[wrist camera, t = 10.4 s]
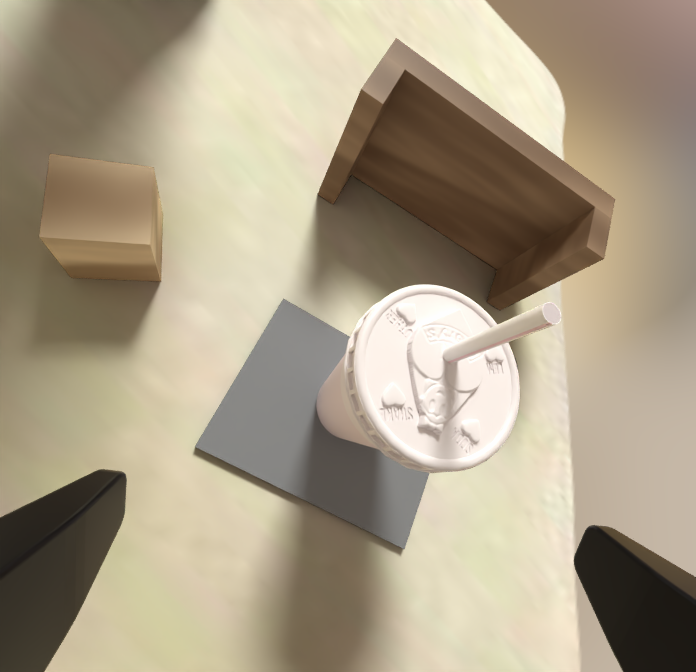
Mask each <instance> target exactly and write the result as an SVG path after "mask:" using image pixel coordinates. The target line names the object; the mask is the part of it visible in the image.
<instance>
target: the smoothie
mask: <svg viewBox="0 0 696 672" xmlns="http://www.w3.org/2000/svg"><path fill="white" fill-rule="evenodd" d="M560 320H561V313H560V310H559V308H558V307H557V306H556V305H555V304H553V303H551V302H547V303H544V304H542V305H540V306H538V307H536V308H533V309H531V310H529V311H527V312H524V313H522V314H520V315H518V316H516V317H513V318H511V319H509V320H507V321H504V322H502V323H500V324H498V325H497V323H496V322H495V321H494V320H493V318H492V317H491V316H490V315H489V314H488V313H487V312H486V311H485V310H484V309H483V308H482V307H481V306H480V305H478V304H477V303H476V302H474V301H473V300H471V299H470V298H469V297H467V296H465V295H463V294H461V293H459V292H457V291H455V290H452V289H449V288H446V287H442V286H438V285H428V284H422V285H413V286H408V287H405V288H401V289H399V290H397V291H394V292H393V293H391V294H389V295H388V296H386V297H385V298H384V299H382V300H381V301H380V302H378V303H376V304H374V305H373V306H372V307H371V308H370V309H369V310H368V311H367V312H366V313H365V314H364V315H363V316H362V317H361V318H360V319H359V320H358V322H357V324H356V326H355V328H354V330H353V332H352V334H351V336H350V338H349V340H348V344H347V349H346V353H345V355H344V356H343V358H342V359H341V360H340V362H339V363H338V364H337V366H336V367H335V369H334V370H333V371H332V373H331V374H330V376H329V377H328V378H327V380H326V381H325V382H324V384H323V385H322V387H321V388H320V390H319V393H318V396H317V402H316V408H317V414H318V417H319V419H320V421H321V423H322V425H323V426H324V428H325V429H326V430H327V431H328V432H329V433H331V434H332V435H334V436H336V437H338V438H341V439H345V440H348V441H352V442H355V443H358V444H362V445H365V446H369V447H372V448H376V449H379V450H380V451H381V452H382V453H383V454H384V455H385V456H387V457H388V458H390V459H392V460H394V461H396V462H397V463H399V464H401V465H403V466H405V467H406V468H409V469H414V470H418V471H423V472H427V473H439V472H452V471H461V470H466V469H470V468H473V467H475V466H477V465H480V464H481V463H483V462H485V461H487V460H488V459H489V458H491V457H492V456H493V455H494V454H495V453H496V452H497V451H498V450H499V449H500V448H501V447H502V446H503V444H504V443H505V441H506V440H507V438H508V437H509V435H510V433H511V431H512V429H513V426H514V424H515V421H516V417H517V414H518V408H519V400H520V383H519V375H518V369H517V365H516V361H515V358H514V355H513V352H512V350H511V347H510V345H509V343H508V342H511V341H513V340H516V339H519V338H521V337H524V336H527V335H529V334H532V333H535V332H537V331H540V330H543V329H545V328H548V327H551V326H553V325H556V324H558V323H559V322H560Z"/></svg>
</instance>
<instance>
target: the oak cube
mask: <svg viewBox="0 0 696 672" xmlns="http://www.w3.org/2000/svg"><path fill="white" fill-rule="evenodd" d="M162 231H163V212H162V207H161V202H160V197H159V192H158V187H157V182H156V177H155V172H154V167H148V166H140V165H132V164H125V163H117V162H109V161H102V160H94V159H86V158H79V157H71V156H63V155H56V154H50V155H49V163H48V171H47V179H46V186H45V194H44V202H43V210H42V218H41V225H40V233H39V238H40V239H41V240H42V241H43V243H44V244H45V245H46V247H47V248H48V249H49V250H50V252H51V253H52V254H53V255H54V257H55V258H56V259H57V261H58V262H59V263H60V264H61V266H62V267H63V268H64V269H65V271H66V272H67V273H68V275H69V276H70V277H71V278H88V279H112V280H136V281H160V282H161V262H162Z"/></svg>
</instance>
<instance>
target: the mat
mask: <svg viewBox="0 0 696 672" xmlns="http://www.w3.org/2000/svg"><path fill="white" fill-rule="evenodd" d="M349 338H350V337H349V336H347V335H346V334H344V333H342V332H340V331H339V330H337V329H335V328H333V327H332V326H330V325H328V324H326V323H325V322H323V321H321V320H320V319H318V318H316V317H314V316H313V315H311V314H309V313H307V312H306V311H304V310H302V309H301V308H299V307H297V306H295V305H294V304H292V303H290V302H288V301H287V300H285V299H283V300H282V302H281V304H280V305H279V307H278V309H277V310H276V312H275V314H274V315H273V317H272V319H271V320H270V322H269V324H268V325H267V327H266V329H265V330H264V332H263V334H262V335H261V337H260V339H259V340H258V342H257V344H256V345H255V347H254V349H253V350H252V352H251V354H250V355H249V357H248V359H247V360H246V362H245V364H244V365H243V367H242V369H241V370H240V372H239V374H238V375H237V377H236V379H235V380H234V382H233V384H232V385H231V387H230V389H229V390H228V392H227V394H226V395H225V397H224V399H223V400H222V402H221V404H220V405H219V407H218V409H217V410H216V412H215V414H214V415H213V417H212V419H211V421H210V422H209V424H208V426H207V427H206V429H205V431H204V432H203V434H202V436H201V437H200V439H199V441H198V442H197V444H196V446H195V447H196V448H198V449H200V450H202V451H205V452H207V453H209V454H211V455H213V456H215V457H217V458H219V459H221V460H223V461H225V462H227V463H229V464H231V465H233V466H235V467H237V468H239V469H241V470H243V471H245V472H247V473H250V474H252V475H254V476H256V477H258V478H260V479H262V480H264V481H266V482H268V483H270V484H272V485H274V486H276V487H278V488H280V489H282V490H284V491H286V492H288V493H290V494H292V495H294V496H297V497H299V498H301V499H303V500H305V501H307V502H309V503H311V504H313V505H315V506H317V507H319V508H321V509H323V510H325V511H327V512H329V513H331V514H333V515H335V516H337V517H339V518H341V519H344V520H346V521H348V522H350V523H352V524H354V525H356V526H358V527H360V528H362V529H364V530H366V531H368V532H370V533H372V534H374V535H376V536H378V537H380V538H382V539H384V540H386V541H389V542H391V543H393V544H395V545H397V546H399V547H401V548H403V549H405V546H406V542H407V539H408V536H409V533H410V530H411V527H412V524H413V521H414V518H415V515H416V512H417V509H418V506H419V503H420V500H421V497H422V494H423V491H424V488H425V485H426V482H427V479H428V476H429V473H427V472H423V471H418V470H414V469H409V468H406V467H405V466H403V465H401V464H399V463H397V462H396V461H394V460H392V459H390V458H388V457H387V456H385V455H384V454H383V453H382V452H381V451H380V450H379V449H376V448H372V447H369V446H365V445H362V444H358V443H355V442H352V441H348V440H345V439H341V438H338V437H336V436H334V435H332V434H331V433H329V432H328V431H327V430H326V429H325V428H324V426H323V425H322V423H321V421H320V419H319V417H318V414H317V408H316V402H317V396H318V393H319V390H320V388H321V387H322V385H323V384H324V382H325V381H326V380H327V378H328V377H329V376H330V374H331V373H332V371H333V370H334V369H335V367H336V366H337V364H338V363H339V362H340V360H341V359H342V358H343V356H344V355H345V353H346V349H347V344H348V340H349Z"/></svg>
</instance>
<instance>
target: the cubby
mask: <svg viewBox="0 0 696 672" xmlns="http://www.w3.org/2000/svg"><path fill="white" fill-rule="evenodd" d="M351 175H353V176H354V177H356V178H358V179H359V180H361V181H362V182H364V183H365V184H367V185H368V186H370V187H371V188H373V189H374V190H376V191H377V192H379V193H380V194H382V195H383V196H385V197H387V198H388V199H390V200H391V201H393V202H394V203H396V204H397V205H399V206H400V207H402V208H403V209H405V210H406V211H408V212H409V213H411V214H412V215H414V216H416V217H417V218H419V219H420V220H422V221H423V222H425V223H426V224H428V225H429V226H431V227H432V228H434V229H435V230H437V231H438V232H440V233H441V234H443V235H445V236H446V237H448V238H449V239H451V240H452V241H454V242H455V243H457V244H458V245H460V246H461V247H463V248H464V249H466V250H467V251H469V252H470V253H472V254H474V255H475V256H477V257H478V258H480V259H481V260H483V261H484V262H486V263H487V264H489V265H490V266H492V267H493V268H495V269H496V270H497V272H496V275H495V278H494V281H493V284H492V287H491V290H490V293H489V296H488V299H487V302H488V303H489V304H491V305H492V306H494V307H495V308H497V309H499V310H502V309H504V308H506V307H508V306H510V305H512V304H514V303H516V302H518V301H520V300H522V299H524V298H526V297H528V296H530V295H532V294H534V293H536V292H538V291H540V290H542V289H544V288H546V287H548V286H550V285H552V284H554V283H556V282H558V281H560V280H562V279H564V278H566V277H568V276H570V275H572V274H574V273H576V272H578V271H580V270H583V269H585V268H586V267H589V266H591V265H593V264H595V263H597V262H598V261H601V260H603V259H604V256H605V251H606V246H607V240H608V235H609V230H610V224H611V218H612V213H613V208H614V202H615V199H614V198H613V197H611V196H610V195H609V194H607V193H606V192H605V191H603V190H602V189H601V188H599V187H598V186H597V185H595V184H594V183H592V182H591V181H590V180H588V179H587V178H586V177H584V176H583V175H582V174H580V173H579V172H578V171H576V170H575V169H573V168H572V167H571V166H569V165H568V164H567V163H565V162H564V161H563V160H561V159H560V158H559V157H557V156H556V155H554V154H553V153H552V152H550V151H549V150H548V149H546V148H545V147H544V146H542V145H541V144H540V143H538V142H537V141H535V140H534V139H533V138H531V137H530V136H529V135H527V134H526V133H525V132H523V131H522V130H521V129H519V128H518V127H516V126H515V125H514V124H512V123H511V122H510V121H508V120H507V119H506V118H504V117H503V116H501V115H500V114H499V113H497V112H496V111H495V110H493V109H492V108H491V107H489V106H488V105H487V104H485V103H484V102H482V101H481V100H480V99H478V98H477V97H476V96H474V95H473V94H472V93H470V92H469V91H468V90H466V89H465V88H463V87H462V86H461V85H459V84H458V83H457V82H455V81H454V80H453V79H451V78H450V77H448V76H447V75H446V74H444V73H443V72H442V71H440V70H439V69H438V68H436V67H435V66H434V65H432V64H431V63H429V62H428V61H427V60H425V59H424V58H423V57H421V56H420V55H419V54H417V53H416V52H415V51H413V50H412V49H410V48H409V47H408V46H406V45H405V44H404V43H402V42H401V41H400V40H398V39H397V38H396V39H395V41H394V42H393V44H392V45H391V46H390V48H389V49H388V51H387V52H386V54H385V55H384V57H383V58H382V60H381V61H380V62H379V64H378V65H377V67H376V68H375V70H374V71H373V73H372V74H371V76H370V77H369V78H368V80H367V81H366V83H365V84H364V86H363V87H362V89H361V91H360V93H359V96H358V98H357V101H356V103H355V105H354V108H353V110H352V113H351V115H350V117H349V120H348V122H347V125H346V127H345V129H344V132H343V134H342V137H341V139H340V141H339V144H338V146H337V149H336V151H335V153H334V156H333V158H332V161H331V163H330V166H329V168H328V170H327V173H326V175H325V178H324V180H323V182H322V185H321V187H320V190H319V192H318V195H319V196H321V197H322V198H324V199H325V200H327V201H329V202H330V203H332V204H334V203H335V201H336V199H337V198H338V196H339V194H340V193H341V191H342V189H343V188H344V186H345V185H346V183H347V181H348V180H349V178H350V176H351Z"/></svg>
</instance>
